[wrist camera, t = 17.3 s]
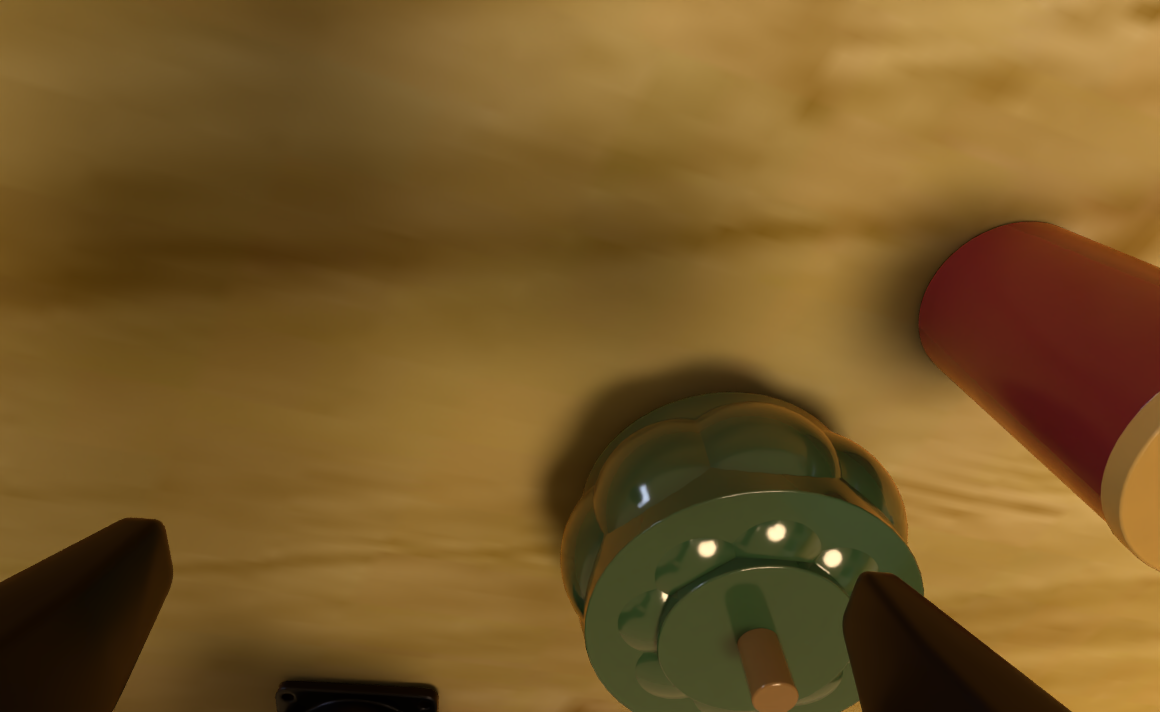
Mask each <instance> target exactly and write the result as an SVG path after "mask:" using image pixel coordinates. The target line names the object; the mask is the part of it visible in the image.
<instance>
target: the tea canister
mask: <svg viewBox="0 0 1160 712" xmlns="http://www.w3.org/2000/svg"><path fill="white" fill-rule="evenodd" d="M918 324H919V335H920V339H921V343H922V346H923V348H924V350H925V352H926V354H927V355H928V357H929V358H930V360H931V361H932V362H933V363H934V364H935V365H936V366H937V367H938V368H939V369H940V370H941V371H942V372H943V373H944V374H945V375H947V376H948V377H949V378H950V379H951V380H952V381H953V382H954V383H955V384H956V385H957V386H959V387H960V388H961V389H962V390H963V391H964V392H965V393H966V394H967V395H968V396H969V397H970V398H972V399H973V400H974V401H975V402H976V403H977V404H978V405H979V406H980V407H981V408H982V409H984V410H985V411H986V412H987V413H988V414H989V415H990V416H991V417H992V418H993V419H994V420H996V421H997V422H998V423H999V424H1000V425H1001V426H1002V427H1003V428H1004V429H1005V430H1006V431H1008V432H1009V433H1010V434H1011V435H1012V436H1013V437H1014V438H1015V439H1016V440H1017V441H1018V442H1019V443H1021V444H1022V445H1023V446H1024V447H1025V448H1026V449H1027V450H1028V451H1029V452H1030V453H1031V454H1033V455H1034V456H1035V457H1036V458H1037V459H1038V460H1039V461H1040V462H1041V463H1042V464H1043V465H1045V466H1046V467H1047V468H1048V469H1049V470H1050V471H1051V472H1052V473H1053V474H1054V475H1055V476H1057V477H1058V478H1059V479H1060V480H1061V481H1062V482H1063V483H1064V484H1065V485H1066V486H1067V487H1068V488H1070V489H1071V490H1072V491H1073V492H1074V493H1075V494H1076V495H1077V496H1078V497H1079V498H1080V499H1082V500H1083V501H1084V502H1085V503H1086V504H1087V505H1088V506H1089V507H1090V508H1091V509H1092V510H1094V511H1095V512H1096V513H1097V514H1098V515H1099V516H1100V517H1101V518H1102V519H1103V520H1104V521H1106V522H1107V524H1108V526H1109V527H1110V529H1111V531H1112V533H1113V534H1114V535H1115V536H1116V537H1117V538H1118V540H1119V541H1120V542H1121V543H1122V544H1123V545H1124V546H1125V547H1127V548H1128V549H1129V550H1130V551H1131V552H1132V553H1133V554H1134V555H1135V556H1136V557H1137V558H1139V559H1140V560H1141V561H1142V562H1144V563H1145V564H1146V565H1148V566H1150V567H1152V568H1154V569H1156V570H1158V571H1160V268H1159V267H1157V266H1154V265H1152V264H1149V263H1147V262H1145V261H1142V260H1140V259H1137V258H1135V257H1132V256H1130V255H1127V254H1125V253H1122V252H1120V251H1118V250H1115V249H1113V248H1110V247H1108V246H1105V245H1103V244H1100V243H1098V242H1096V241H1093V240H1091V239H1088V238H1086V237H1083V236H1081V235H1078V234H1076V233H1074V232H1071V231H1069V230H1066V229H1064V228H1061V227H1059V226H1056V225H1053V224H1049V223H1044V222H1018V223H1012V224H1007V225H1004V226H1000V227H997V228H994V229H992V230H989V231H987V232H984V233H982V234H980V235H979V236H977V237H975V238H973V239H971V240H970V241H968V242H967V243H965V244H964V245H963V246H961V247H960V248H959V249H958V250H956V251H955V252H954V253H953V254H952V255H951V256H950V257H949V258H948V259H947V260H946V261H945V262H944V263H943V264H942V266H941V267H940V268H939V269H938V271H937V272H936V273H935V275H934V276H933V278H932V280H931V281H930V283H929V285H928V287H927V289H926V291H925V293H924V296H923V299H922V302H921V306H920V311H919V322H918Z"/></svg>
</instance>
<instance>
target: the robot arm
mask: <svg viewBox="0 0 1160 712" xmlns="http://www.w3.org/2000/svg"><path fill="white" fill-rule="evenodd" d="M172 579H173V565H172V560H171V555H170V550H169V545H168V539H167V534H166V530H165V526H164V525H163V523H162V522H161V521H159V520H156V519H145V518H124V519H122V520H119V521H117V522H115V523H113V524H111V525H109V526H108V527H106V528H104V529H102V530H100V531H98V532H96V533H94V534H92V535H90V536H88V537H86V538H85V539H83V540H81V541H79V542H77V543H75V544H73V545H71V546H69V547H67V548H65V549H63V550H62V551H60V552H58V553H56V554H54V555H52V556H50V557H48V558H46V559H44V560H42V561H40V562H39V563H37V564H35V565H33V566H31V567H29V568H27V569H25V570H23V571H21V572H19V573H17V574H16V575H14V576H12V577H10V578H8V579H6V580H4V581H2V582H0V712H112V711H113V709H114V708H115V706H116V704H117V702H118V700H119V698H120V696H121V694H122V692H123V690H124V688H125V685H126V683H127V681H128V679H129V677H130V675H131V672H132V670H133V668H134V666H135V664H136V662H137V659H138V657H139V655H140V653H141V651H142V648H143V646H144V644H145V642H146V640H147V638H148V635H149V633H150V631H151V629H152V627H153V625H154V622H155V620H156V618H157V616H158V614H159V611H160V609H161V607H162V605H163V603H164V601H165V598H166V596H167V594H168V592H169V589H170V587H171V583H172ZM842 629H843V636H844V640H845V644H846V648H847V652H848V656H849V660H850V664H851V668H852V672H853V676H854V680H855V684H856V688H857V692H858V696H859V700H860V704H861V708H862V712H1072V711H1070V710H1069V709H1068V708H1066V707H1065V706H1064V705H1063V704H1061V703H1060V702H1059V701H1057V700H1056V699H1055V698H1053V697H1052V696H1051V695H1050V694H1048V693H1047V692H1046V691H1044V690H1043V689H1042V688H1041V687H1039V686H1038V685H1037V684H1035V683H1034V682H1033V681H1032V680H1030V679H1029V678H1028V677H1026V676H1025V675H1024V674H1023V673H1021V672H1020V671H1019V670H1017V669H1016V668H1015V667H1014V666H1012V665H1011V664H1010V663H1008V662H1007V661H1006V660H1005V659H1003V658H1002V657H1001V656H999V655H998V654H997V653H996V652H994V651H993V650H992V649H990V648H989V647H988V646H987V645H985V644H984V643H983V642H981V641H980V640H979V639H978V638H976V637H975V636H974V635H972V634H971V633H970V632H969V631H967V630H966V629H965V628H963V627H962V626H961V625H960V624H958V623H957V622H956V621H954V620H953V619H952V618H951V617H949V616H948V615H947V614H945V613H944V612H943V611H942V610H940V609H939V608H938V607H936V606H935V605H934V604H933V603H931V602H930V601H929V600H927V599H926V598H925V597H924V596H922V595H921V594H920V593H918V592H917V591H916V590H915V589H913V588H912V587H911V586H909V585H908V584H907V583H906V582H904V581H903V580H902V579H900V578H899V577H898V576H896V575H894V574H892V573H885V572H871V571H866V572H863V573H861V574H860V575H859V576H858V578H857V580H856V583H855V586H854V588H853V591H852V593H851V596H850V599H849V601H848V604H847V607H846V609H845V612H844V615H843V621H842ZM438 704H439V696H438V694H437V693H436V691H434V690H432V689H428V688H412V687H395V686H377V685H360V684H342V683H325V682H307V681H285V682H282V683H281V684H280V686H279V688H278V691H277V693H276V705H277V712H438Z"/></svg>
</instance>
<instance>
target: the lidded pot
mask: <svg viewBox="0 0 1160 712" xmlns="http://www.w3.org/2000/svg"><path fill="white" fill-rule="evenodd" d="M907 541H908V523H907V516H906V511H905V506H904V503H903V501H902V498H901V495H900V493H899V490H898V488H897V486H896V485H895V483H894V481H893V479H892V478H891V476H890V475H889V473H888V472H887V470H886V469H885V468H884V467H883V466H882V465H881V464H880V462H879V461H878V460H877V459H876V458H875V457H874V456H873V455H872V454H870V453H869V452H868V451H867V450H865V449H864V448H863V447H862V446H860V445H858V444H857V443H855V442H853V441H852V440H850V439H848V438H846V437H844V436H841V435H839V434H836V433H833V432H831V431H830V430H829V429H828V428H827V427H826V426H825V425H824V424H823V423H821V422H820V421H819V420H818V419H817V418H815V417H814V416H813V415H811V414H809V413H808V412H806V411H804V410H803V409H801V408H799V407H797V406H795V405H792V404H790V403H788V402H785V401H783V400H780V399H776V398H773V397H769V396H765V395H759V394H753V393H746V392H720V393H708V394H702V395H697V396H692V397H688V398H684V399H681V400H678V401H675V402H672V403H669V404H667V405H664V406H662V407H660V408H658V409H656V410H653V411H651V412H650V413H648V414H646V415H645V416H643V417H641V418H640V419H638V420H636V421H635V422H633V423H632V424H631V425H630V426H628V427H627V428H626V429H624V430H623V431H622V432H621V433H620V434H619V435H618V436H617V437H616V438H615V439H614V440H613V441H612V442H611V443H610V444H609V445H608V446H607V447H606V448H605V450H604V451H603V452H602V454H601V455H600V456H599V458H598V459H597V461H596V463H595V464H594V466H593V468H592V470H591V471H590V473H589V476H588V479H587V481H586V484H585V486H584V490H583V495H582V498H581V499H580V500H579V501H578V503H577V504H576V506H575V508H574V509H573V511H572V513H571V515H570V517H569V519H568V521H567V524H566V527H565V530H564V533H563V538H562V542H561V553H560V564H561V573H562V579H563V583H564V587H565V590H566V593H567V596H568V598H569V600H570V602H571V604H572V606H573V608H574V610H575V612H576V613H577V615H578V616H579V619H580V624H581V628H582V631H583V635H584V638H585V645H586V650H587V653H588V657H589V660H590V663H591V665H592V667H593V669H594V671H595V673H596V675H597V677H598V678H599V680H600V681H601V682H602V684H603V685H604V686H605V688H606V689H607V690H608V691H609V692H610V693H611V694H612V695H613V696H614V697H615V698H616V699H617V700H618V701H619V702H620V703H621V704H623V705H624V706H625V707H627V708H628V709H629V710H631V711H632V712H841V711H843V710H845V709H847V708H849V707H850V706H852V705H854V704H855V703H857V702H858V701H860V700H859V696H858V692H857V688H856V684H855V680H854V676H853V672H852V668H851V664H850V660H849V656H848V652H847V648H846V644H845V640H844V636H843V629H842V621H843V615H844V612H845V609H846V607H847V604H848V601H849V599H850V596H851V593H852V591H853V588H854V586H855V583H856V580H857V578H858V576H859V575H860V574H861V573H863V572H866V571H871V572H885V573H892V574H894V575H896V576H898V577H899V578H900V579H902V580H903V581H904V582H906V583H907V584H908V585H909V586H911V587H912V588H913V589H915V590H916V591H917V592H918V593H920V594H921V595H922V596H924V587H923V582H922V577H921V572H920V570H919V567H918V565H917V562H916V560H915V557H914V555H913V554H912V552H911V551H910V549H909V547H908V546H907Z"/></svg>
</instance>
